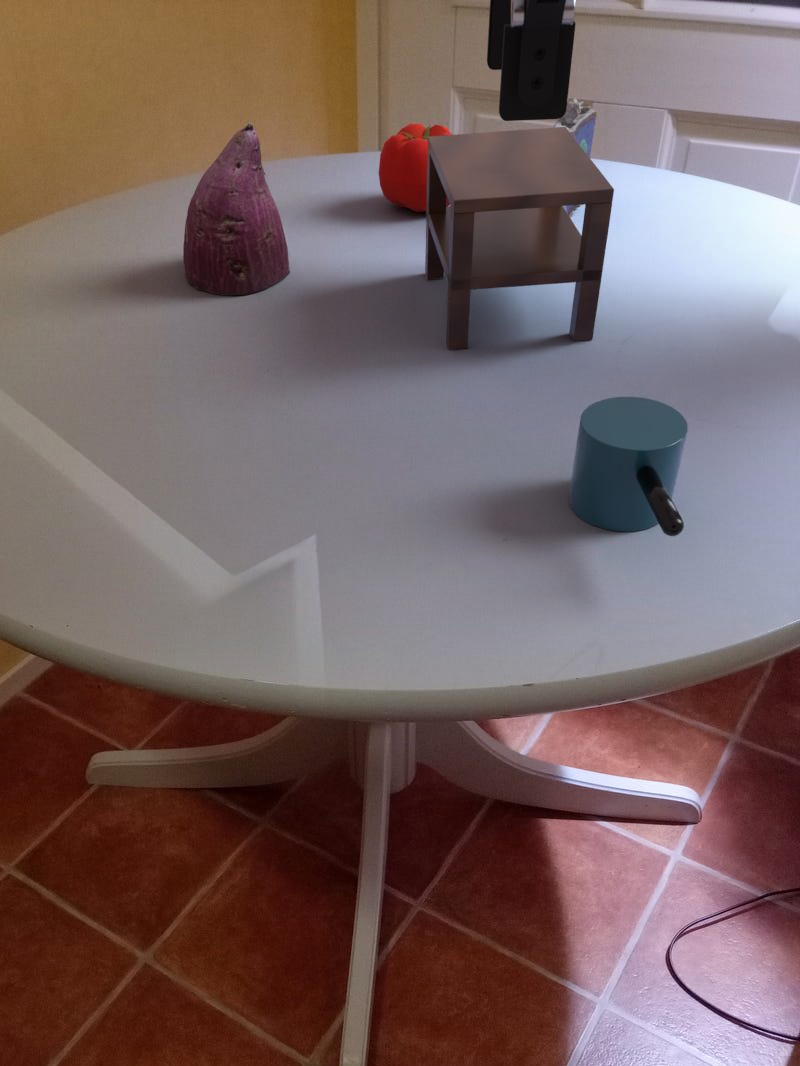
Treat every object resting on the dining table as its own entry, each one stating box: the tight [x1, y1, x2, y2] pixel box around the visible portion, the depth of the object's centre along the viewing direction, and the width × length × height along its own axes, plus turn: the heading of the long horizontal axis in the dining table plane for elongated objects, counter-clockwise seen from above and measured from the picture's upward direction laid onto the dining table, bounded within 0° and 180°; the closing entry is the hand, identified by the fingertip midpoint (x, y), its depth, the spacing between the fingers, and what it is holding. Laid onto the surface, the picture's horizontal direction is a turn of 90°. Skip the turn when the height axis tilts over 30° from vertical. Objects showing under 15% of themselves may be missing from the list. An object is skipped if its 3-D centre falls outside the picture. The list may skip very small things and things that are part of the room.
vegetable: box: [182, 121, 291, 296], centre depth 91 cm, size 10×10×15 cm
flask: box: [552, 96, 597, 218], centre depth 98 cm, size 9×3×11 cm, turn 152°
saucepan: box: [568, 396, 689, 537], centre depth 60 cm, size 6×12×6 cm, turn 2°
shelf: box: [424, 127, 615, 351], centre depth 83 cm, size 12×16×12 cm
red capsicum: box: [378, 123, 453, 213], centre depth 103 cm, size 9×9×8 cm
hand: (522, 91), depth 51 cm, fingers open, 9 cm apart
